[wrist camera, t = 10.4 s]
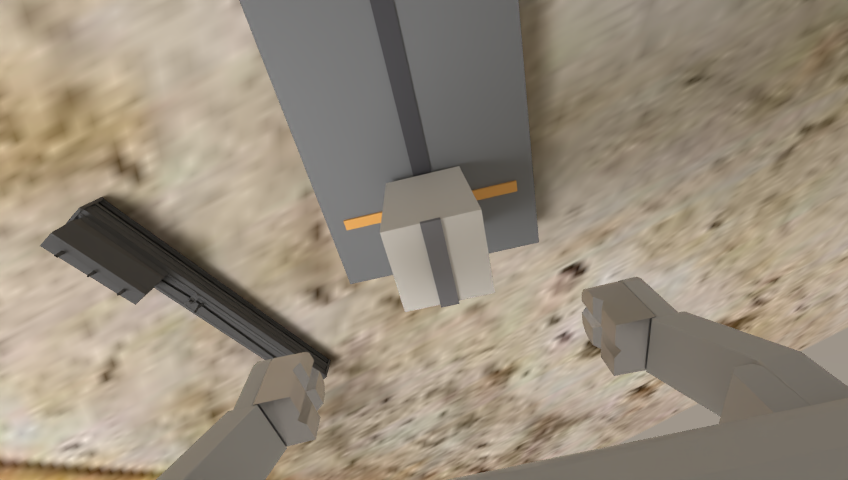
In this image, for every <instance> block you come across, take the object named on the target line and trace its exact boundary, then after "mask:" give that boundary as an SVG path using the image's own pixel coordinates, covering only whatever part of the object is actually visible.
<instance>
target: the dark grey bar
mask: <svg viewBox="0 0 848 480" xmlns="http://www.w3.org/2000/svg"><path fill="white" fill-rule="evenodd" d="M40 246H41V247H43V248H44V249H46V250H48V251H49V252H51V253H52V254H54V256H55V257H57V258H58V257H59V258H61V259H62V260H64V261H65V262H67V263H69V264H70V265H72V266H74V267H75V268H77V269H78V270H80V271H82V272H83V273H85V274H87V277H91V278H93V279H95V280H96V281H98V282H100V283H101V284H103V285H104V286H106V287H108V288H109V289H111V290H113V291H114V292H116V293H117V295H121V296H122V297H124V298H126V299H127V300H129V301H130V302H132V303H134V304H135V305H136V304H137V303H138V302H139V301H140V300H141V299H142V298H143V297H144V296H145V295H146V294H147V293H148V292H149V291H151V290H152V289H153V288H155V289H157V290H159V291H160V292H162V293H163V294H165V295H166V296H168V297H169V298H171V299H172V300H174V301H175V302H177V303H178V304H180V305H182V306H183V307H185V308H186V309H188V310H189V311H191V312H192V313H194V314H195V315H197V316H198V317H200V318H202V319H203V320H205V321H206V322H208V323H209V324H211V325H212V326H214V327H215V328H217V329H218V330H220V331H221V332H223V333H225V334H226V335H228V336H229V337H231V338H232V339H234V340H235V341H237V342H238V343H240V344H241V345H243V346H245V347H246V348H248V349H249V350H251V351H252V352H254V353H255V354H257V355H258V356H260V357H261V358H263V359H264V360H269V359H274V358H277V357H282V356H287V355H292V354H297V353H302V352H308V353H310V355H311V356H312V358H313V360H314V362H313V366H312V367H313V368H315V369H317V370H319V371H320V373H321V375H322V377H323V379H325V378H326V377H327V373H328V369H329V365H330V359H327V358H326V357H324V356H323V355H322V354H320V353H319V352H317V351H316V350H315V349H313V348H312V347H310V346H309V345H308V344H306V343H305V342H303V341H302V340H301V339H299V338H298V337H296V336H295V335H294V334H292V333H291V332H289V331H288V330H287V329H285V328H284V327H282V326H281V325H280V324H278V323H277V322H275V321H274V320H273V319H271V318H270V317H268V316H267V315H266V314H264V313H263V312H261V311H260V310H259V309H257V308H256V307H254V306H253V305H251V304H250V303H249V302H247V301H246V300H244V299H243V298H242V297H240V296H239V295H237V294H236V293H235V292H233V291H232V290H230V289H229V288H228V287H226V286H225V285H223V284H222V283H221V282H219V281H218V280H216V279H215V278H214V277H212V276H211V275H209V274H208V273H207V272H205V271H204V270H202V269H201V268H200V267H198V266H197V265H195V264H194V263H193V262H191V261H190V260H188V259H187V258H186V257H184V256H183V255H181V254H180V253H178V252H177V251H176V250H174V249H173V248H171V247H170V246H169V245H167V244H166V243H164V242H163V241H162V240H160V239H159V238H157V237H156V236H155V235H153V234H152V233H150V232H149V231H148V230H146V229H145V228H143V227H142V226H141V225H139V224H138V223H136V222H135V221H134V220H132V219H131V218H129V217H128V216H127V215H125V214H124V213H122V212H121V211H120V210H118V209H117V208H115V207H114V206H113V205H111V204H110V203H108V202H107V201H106V200H104V198H103V197H101V198H99V199H97V200H95V201H92V202H90V203H88V204H86V205H84V206H82V207H80V208H79V209H78V210H77V211H76V212H75V213H74V215H73V216H72V217H71V218H70V219H69V221H68V222H67V223H66V224H65V225H64V226H62V227H61V228H59V229H57V230H55V231H53V232H52V233H51V234H50V235H49V236H48V237H47V238H46V239H45V241H44V242H43V243H42V244H41V245H40Z"/></svg>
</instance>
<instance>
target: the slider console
mask: <svg viewBox="0 0 848 480" xmlns="http://www.w3.org/2000/svg"><path fill="white" fill-rule="evenodd" d="M239 1H240V3H241V6H242V8H243V11H244V13H245V16H246V18H247V21H248V24H249V26H250V29H251V31H252V34H253V36H254V39H255V41H256V44H257V47H258V49H259V52H260V54H261V57H262V59H263V62H264V64H265V67H266V69H267V72H268V75H269V77H270V80H271V82H272V85H273V87H274V90H275V92H276V95H277V98H278V100H279V103H280V105H281V108H282V110H283V113H284V115H285V118H286V121H287V123H288V126H289V128H290V131H291V133H292V136H293V138H294V141H295V143H296V146H297V149H298V151H299V154H300V156H301V159H302V161H303V164H304V166H305V169H306V172H307V174H308V177H309V179H310V182H311V184H312V187H313V189H314V192H315V195H316V197H317V200H318V202H319V205H320V207H321V210H322V212H323V215H324V217H325V220H326V223H327V225H328V228H329V230H330V233H331V235H332V238H333V240H334V243H335V246H336V248H337V251H338V253H339V256H340V258H341V261H342V263H343V266H344V269H345V271H346V274H347V276H348V279H349V281H350V284H353V283H358V282H362V281H367V280H371V279H376V278H380V277H385V276H389V275H393V272H392V269H391V266H390V263H389V260H388V257H387V254H386V251H385V247H384V244H383V241H382V238H381V235H380V227H381V219H382V211H383V203H384V195H385V187H386V183H389V182H394V181H398V180H402V179H406V178H411V177H415V176H419V175H423V174H427V173H432V172H436V171H440V170H444V169H449V168H453V167H457V166H459V167H460V169H461V171H462V173H463V175H464V177H465V179H466V180H467V182H468V184H469V186H470V188H471V190H472V192H473V194H474V196H475V198H476V200H477V202H478V204H479V206H480V208H481V210H482V216H483V222H484V228H485V234H486V241H487V247H488V253H493V252H497V251H502V250H506V249H511V248H515V247H520V246H524V245H529V244H533V243H538V242H539V238H538V226H537V214H536V202H535V190H534V179H533V167H532V155H531V143H530V131H529V119H528V107H527V96H526V84H525V72H524V60H523V48H522V36H521V24H520V13H519V1H518V0H239Z"/></svg>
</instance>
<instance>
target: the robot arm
mask: <svg viewBox="0 0 848 480" xmlns="http://www.w3.org/2000/svg"><path fill="white" fill-rule="evenodd" d="M582 302H583V303H584V304H585V306H586V308H585V309H584V311H583V312H582V320H583V325H584V329H585V332H586V334H587V336H588V338H589V340H590V341H591V343H592V344H593V345H594V346H596V347H598V348H600V349H601V358H602V359H603V361H604V362H605V363H606V365H607V366H608V368H609V369H610V371H611V372H612V374H613V375H614V376H615V375H621V374H626V373H632V372H637V371H643V370H646V372H648V373H650V374H651V375H653V376H655V377H656V378H658V379H660V380H661V381H663V382H664V383H666V384H668V385H669V386H671V387H673V388H674V389H676V390H678V391H679V392H681V393H682V394H684V395H686V396H687V397H689V398H691V399H692V400H694V401H696V402H697V403H699V404H701V405H702V406H704V407H705V408H707V409H709V410H710V411H712V412H714V413H715V414H717V415H719V416H720V417H721V418H720V421H719V424H717V425H712V426H707V427H702V428H697V429H692V430H687V431H682V432H678V433H673V434H668V435H663V436H658V437H653V438H648V439H643V440H638V441H633V442H629V443H624V444H619V445H614V446H609V447H604V448H599V449H594V450H590V451H585V452H580V453H575V454H570V455H565V456H560V457H556V458H551V459H546V460H541V461H536V462H531V463H526V464H522V465H517V466H512V467H507V468H502V469H497V470H493V471H488V472H483V473H478V474H473V475H468V476H463V477H458V478H453V479H448V480H848V386H846V385H845V384H844V383H842V382H841V381H840V380H838V379H837V378H836V377H834V376H833V375H832V374H830V373H829V372H827V371H826V370H825V369H824V368H822V367H821V366H819V365H818V364H817V363H815V362H814V361H813V360H811V359H810V358H808V357H807V356H806V355H805V354H803V353H802V352H800V351H797V350H794V349H791V348H789V347H786V346H783V345H780V344H777V343H774V342H771V341H768V340H765V339H763V338H760V337H757V336H754V335H751V334H748V333H745V332H742V331H739V330H736V329H734V328H731V327H728V326H725V325H722V324H719V323H716V322H713V321H710V320H708V319H705V318H702V317H699V316H696V315H693V314H690V313H687V312H679V313H678V312H677V311H676V310H675V309H674V308H673V307H672V306H671V305H670V304H668V303H667V302H666V301H665V300H664V299H663V298H662V297H661V296H660V295H659V294H657V293H656V292H655V291H654V290H653V289H652V288H651V287H650V286H649V285H648V284H647V283H645V282H644V281H643V280H642V279H641V278H639V277H633V278H629V279H625V280H621V281H618V282H613V283H609V284H605V285H600V286H596V287H592V288H587V289H583V292H582ZM313 362H314V360H313V358H312V356H311V355H310V353H308V352H302V353H297V354H292V355H287V356H282V357H277V358H274V359H269V360H264V361H259V362H257V363H256V364H255V365H254V366H253V368H252V370H251V372H250V374H249V377H248V379H247V381H246V383H245V385H244V387H243V390H242V392H241V394H240V396H239V398H238V401H237V403H236V405H235V407H234V409H233V410H231V411H228V412H227V413H226V414H225V415H224V416H222V417H221V418H220V419H219V420H218V421H217V422H216V423H215V424H214V425H213V426H212V427H211V428H210V429H209V430H208V431H207V432H206V433H205V434H204V435H202V436H201V437H200V438H199V439H198V440H197V441H196V442H195V443H194V444H193V445H192V446H191V447H190V448H189V449H188V450H187V451H186V452H185V453H184V454H183V455H181V456H180V457H179V458H178V459H177V460H176V461H175V462H174V463H173V464H172V465H171V466H170V467H169V468H168V469H167V470H166V471H165V472H164V473H163V474H161V475H160V476H159V477H158V478H157V479H156V480H265V479H266V478H267V476H268V475H269V473H270V472H271V470H272V469H273V467H274V466H275V465H276V463H277V462H278V460H279V459H280V457H281V456H282V454H283V453H284V451H285V450H286V449H287V447H286V446H290V445H294V444H298V443H302V442H307V441H311V440H315V439H316V436H317V431H318V426H319V421H320V416H319V414H318V412H317V410H318V409H319V408H320V407H321V405H322V404H323V402H324V396H325V386H324V381H323V377H322V375H321V373H320V371H319V370H317V369H315V368H313V367H312V366H313Z"/></svg>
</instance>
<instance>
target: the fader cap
mask: <svg viewBox="0 0 848 480" xmlns="http://www.w3.org/2000/svg"><path fill="white" fill-rule="evenodd" d="M380 235H381V238H382V241H383V244H384V247H385V251H386V254H387V257H388V260H389V263H390V266H391V269H392V272H393V276H394V279H395V282H396V285H397V288H398V291H399V294H400V298H401V301H402V304H403V307H404V310H405V312H408V311H413V310H417V309H422V308H427V307H431V306H436V305H440V304H441V307H446V306H450V305H455V304H459V300H464V299H468V298H473V297H477V296H482V295H487V294H491V293H495V290H494V284H493V278H492V271H491V265H490V259H489V253H488V247H487V241H486V234H485V228H484V222H483V216H482V210H481V208H480V206H479V204H478V202H477V200H476V198H475V196H474V194H473V192H472V190H471V188H470V186H469V184H468V182H467V180H466V179H465V177H464V175H463V173H462V171H461V169H460V167H459V166H457V167H453V168H449V169H444V170H440V171H436V172H432V173H427V174H423V175H419V176H415V177H411V178H406V179H402V180H398V181H394V182H389V183H386V187H385V195H384V203H383V211H382V219H381V227H380Z"/></svg>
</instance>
